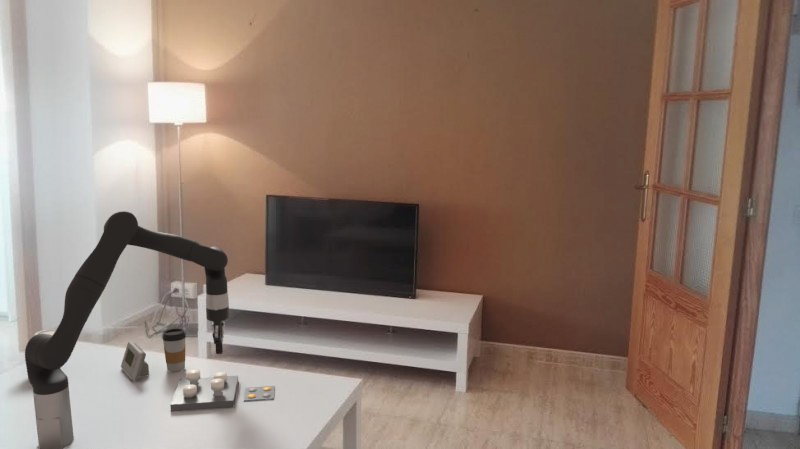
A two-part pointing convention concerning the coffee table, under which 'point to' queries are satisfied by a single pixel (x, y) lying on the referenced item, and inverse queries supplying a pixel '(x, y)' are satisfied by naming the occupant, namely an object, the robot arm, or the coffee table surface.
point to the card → (259, 393)
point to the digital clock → (134, 362)
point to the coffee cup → (174, 349)
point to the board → (205, 395)
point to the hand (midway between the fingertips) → (219, 353)
